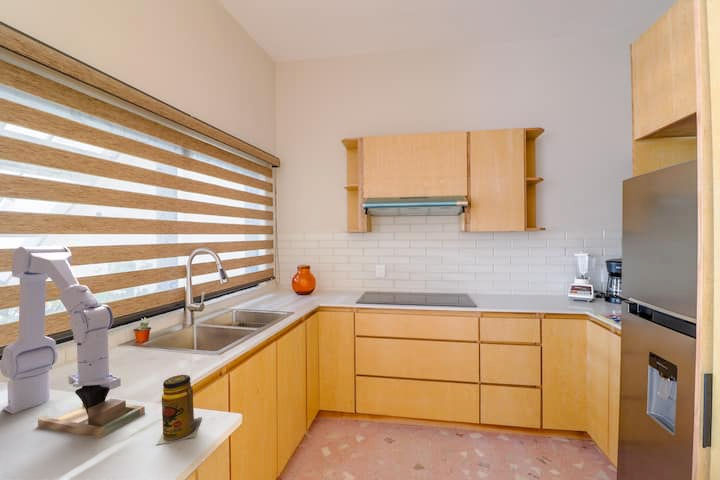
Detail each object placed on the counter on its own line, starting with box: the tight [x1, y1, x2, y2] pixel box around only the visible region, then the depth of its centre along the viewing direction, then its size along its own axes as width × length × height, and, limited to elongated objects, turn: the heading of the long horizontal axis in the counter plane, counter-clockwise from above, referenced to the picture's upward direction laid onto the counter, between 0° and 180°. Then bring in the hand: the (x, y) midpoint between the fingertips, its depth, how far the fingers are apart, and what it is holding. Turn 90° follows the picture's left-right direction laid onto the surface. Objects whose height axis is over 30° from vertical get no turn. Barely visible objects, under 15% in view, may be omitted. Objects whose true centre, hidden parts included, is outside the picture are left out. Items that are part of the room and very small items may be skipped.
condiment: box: [156, 374, 203, 445], centre depth 72 cm, size 7×8×12 cm
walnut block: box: [88, 398, 127, 427], centre depth 75 cm, size 5×5×4 cm
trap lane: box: [37, 401, 146, 439], centre depth 76 cm, size 20×10×2 cm, turn 73°
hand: (95, 415), depth 76 cm, fingers closed
